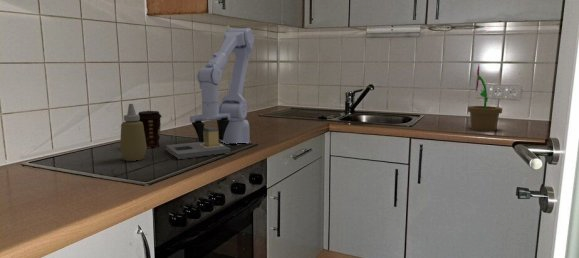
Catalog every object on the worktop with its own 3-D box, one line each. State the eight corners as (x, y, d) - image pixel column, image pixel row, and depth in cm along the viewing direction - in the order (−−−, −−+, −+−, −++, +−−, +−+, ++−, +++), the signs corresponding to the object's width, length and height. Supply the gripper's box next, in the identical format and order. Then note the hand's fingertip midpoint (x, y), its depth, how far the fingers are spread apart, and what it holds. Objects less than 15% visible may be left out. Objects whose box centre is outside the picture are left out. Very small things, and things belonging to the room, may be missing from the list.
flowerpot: (467, 126, 203) (471, 63, 198) (500, 128, 197) (505, 64, 192) (465, 130, 190) (470, 64, 186) (500, 133, 184) (506, 64, 179)
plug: (214, 149, 150) (213, 126, 149) (219, 151, 147) (218, 128, 146) (204, 150, 148) (203, 127, 147) (209, 152, 145) (208, 129, 144)
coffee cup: (155, 143, 160) (153, 109, 158) (167, 146, 155) (166, 111, 153) (134, 147, 154) (132, 111, 152) (146, 150, 149) (144, 113, 146)
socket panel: (214, 145, 156) (214, 139, 156) (230, 154, 143) (230, 147, 142) (165, 150, 147) (165, 144, 147) (178, 160, 134) (177, 153, 133)
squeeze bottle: (150, 156, 139) (147, 102, 136) (143, 162, 131) (139, 105, 128) (126, 156, 139) (122, 102, 136) (116, 162, 131) (113, 105, 128)
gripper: (223, 100, 152) (224, 136, 154) (185, 102, 144) (187, 141, 146) (232, 101, 147) (233, 139, 149) (194, 104, 138) (195, 144, 140)
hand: (211, 140), depth 147 cm, fingers open, 7 cm apart
